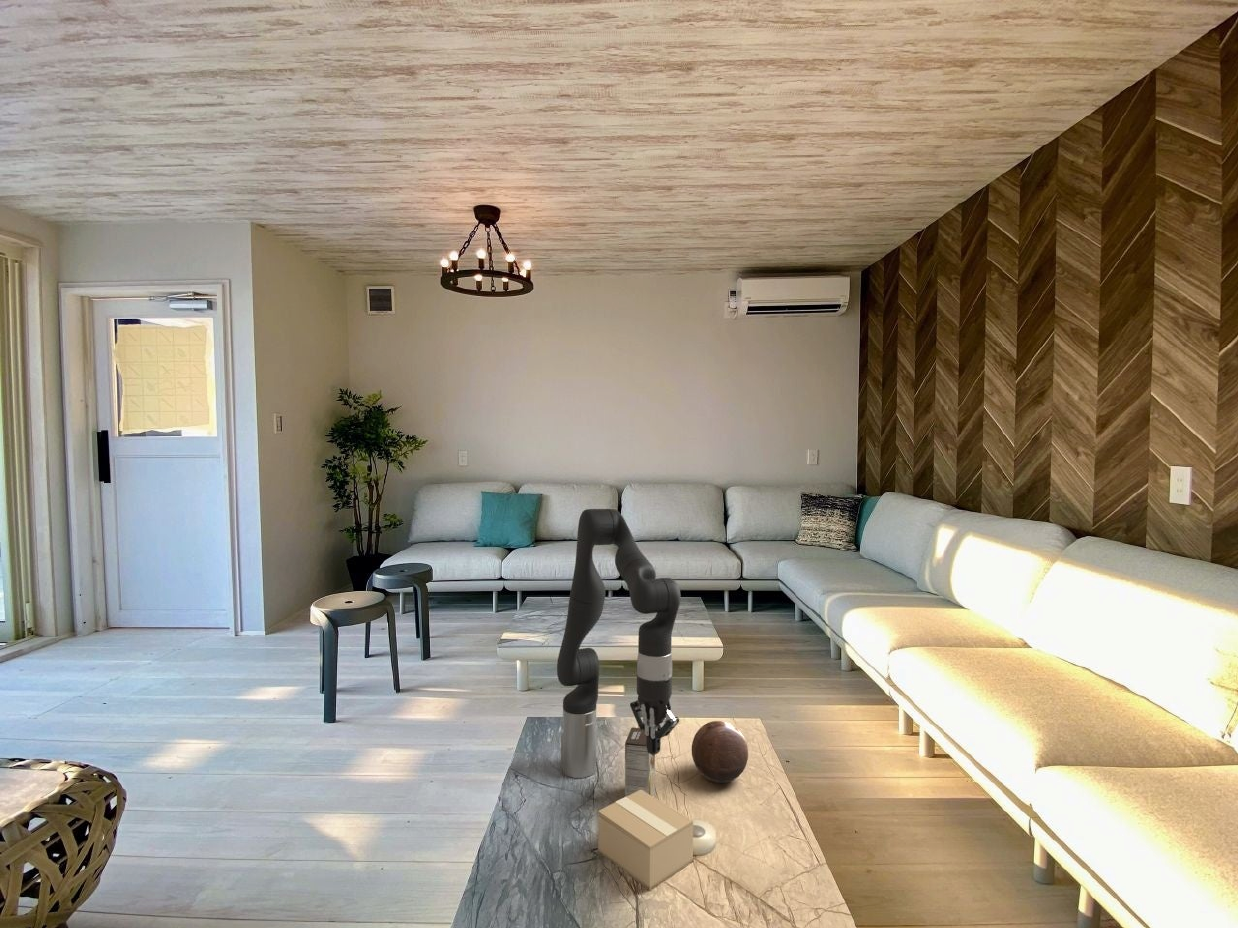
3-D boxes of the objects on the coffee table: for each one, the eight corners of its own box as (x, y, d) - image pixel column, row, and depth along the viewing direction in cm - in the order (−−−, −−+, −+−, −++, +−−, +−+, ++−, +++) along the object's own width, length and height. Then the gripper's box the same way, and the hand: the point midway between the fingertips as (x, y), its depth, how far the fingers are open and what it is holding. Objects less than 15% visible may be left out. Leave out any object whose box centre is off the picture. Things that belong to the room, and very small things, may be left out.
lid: (598, 814, 133) (598, 810, 133) (640, 792, 142) (641, 788, 142) (650, 850, 121) (650, 846, 121) (693, 824, 130) (693, 820, 130)
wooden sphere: (758, 788, 159) (759, 731, 159) (707, 798, 154) (707, 739, 154) (730, 760, 173) (730, 708, 173) (682, 769, 168) (682, 715, 168)
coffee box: (630, 786, 159) (631, 725, 159) (655, 789, 158) (655, 728, 158) (624, 806, 150) (624, 742, 150) (649, 809, 149) (650, 744, 149)
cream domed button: (667, 840, 137) (667, 829, 137) (693, 824, 143) (693, 814, 143) (697, 860, 130) (697, 849, 130) (723, 842, 136) (724, 831, 136)
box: (598, 851, 133) (598, 815, 133) (640, 827, 142) (640, 793, 142) (649, 890, 121) (650, 850, 121) (692, 861, 130) (693, 824, 130)
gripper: (620, 667, 132) (619, 747, 132) (664, 686, 122) (663, 771, 122) (645, 660, 137) (644, 736, 137) (689, 677, 127) (688, 759, 127)
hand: (653, 752), depth 130 cm, fingers closed
